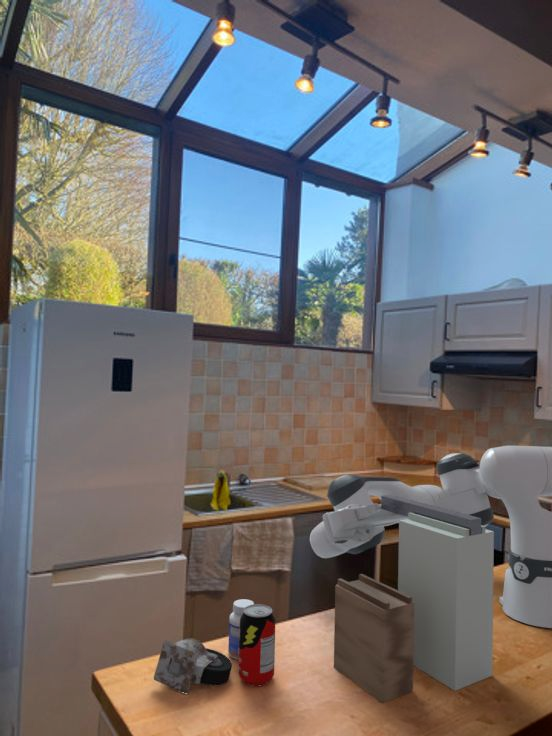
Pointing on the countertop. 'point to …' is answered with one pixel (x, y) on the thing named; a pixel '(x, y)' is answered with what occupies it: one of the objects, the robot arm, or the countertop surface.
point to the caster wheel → (191, 665)
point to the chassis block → (374, 637)
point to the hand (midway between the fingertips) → (393, 504)
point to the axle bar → (431, 512)
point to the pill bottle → (236, 626)
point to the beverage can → (257, 645)
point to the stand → (448, 598)
